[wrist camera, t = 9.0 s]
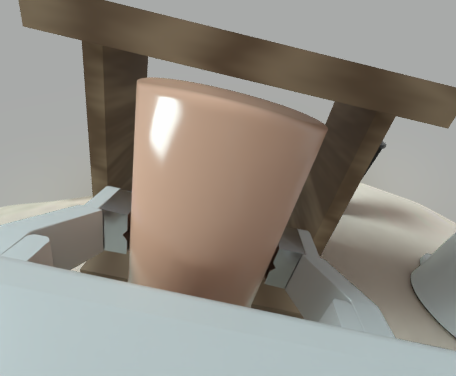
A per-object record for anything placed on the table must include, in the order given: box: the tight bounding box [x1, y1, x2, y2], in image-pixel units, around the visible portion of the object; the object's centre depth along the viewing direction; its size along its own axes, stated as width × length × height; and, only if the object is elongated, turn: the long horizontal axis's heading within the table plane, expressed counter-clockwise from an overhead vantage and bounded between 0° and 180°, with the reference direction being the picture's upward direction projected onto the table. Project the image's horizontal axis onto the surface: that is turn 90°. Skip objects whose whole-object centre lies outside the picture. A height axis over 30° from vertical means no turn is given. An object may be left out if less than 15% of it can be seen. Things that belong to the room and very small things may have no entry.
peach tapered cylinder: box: [128, 78, 328, 308], centre depth 9 cm, size 5×5×12 cm
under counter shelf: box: [19, 0, 456, 319], centre depth 23 cm, size 24×14×21 cm, turn 86°
